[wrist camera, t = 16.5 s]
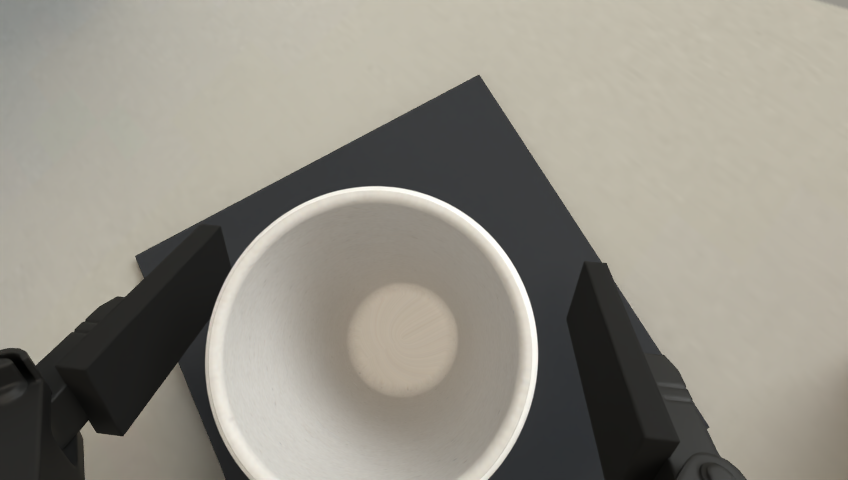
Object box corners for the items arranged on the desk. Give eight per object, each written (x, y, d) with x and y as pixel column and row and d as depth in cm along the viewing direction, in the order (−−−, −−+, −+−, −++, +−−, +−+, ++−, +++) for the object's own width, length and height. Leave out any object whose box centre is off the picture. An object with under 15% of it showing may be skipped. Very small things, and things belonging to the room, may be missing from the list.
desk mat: (139, 257, 22) (134, 256, 22) (478, 78, 23) (479, 74, 23) (307, 666, 18) (304, 674, 18) (704, 425, 19) (710, 427, 19)
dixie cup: (287, 301, 21) (152, 276, 11) (439, 221, 21) (436, 129, 12) (363, 468, 19) (283, 609, 10) (526, 376, 20) (608, 422, 10)
